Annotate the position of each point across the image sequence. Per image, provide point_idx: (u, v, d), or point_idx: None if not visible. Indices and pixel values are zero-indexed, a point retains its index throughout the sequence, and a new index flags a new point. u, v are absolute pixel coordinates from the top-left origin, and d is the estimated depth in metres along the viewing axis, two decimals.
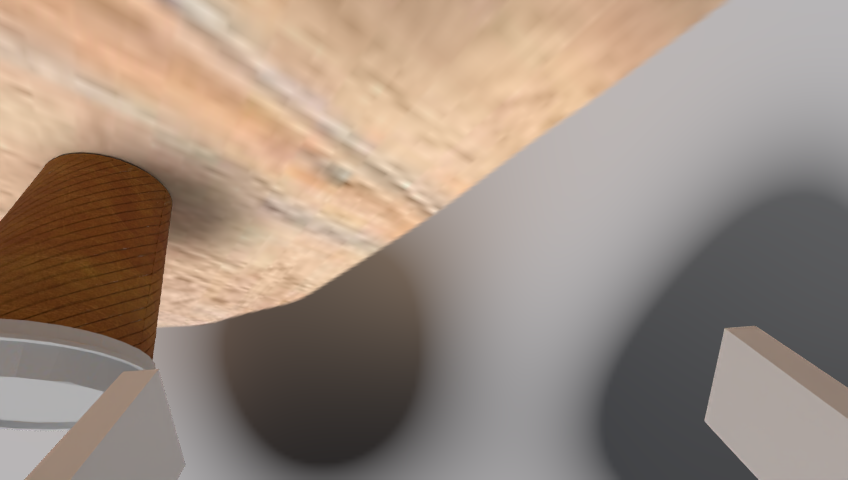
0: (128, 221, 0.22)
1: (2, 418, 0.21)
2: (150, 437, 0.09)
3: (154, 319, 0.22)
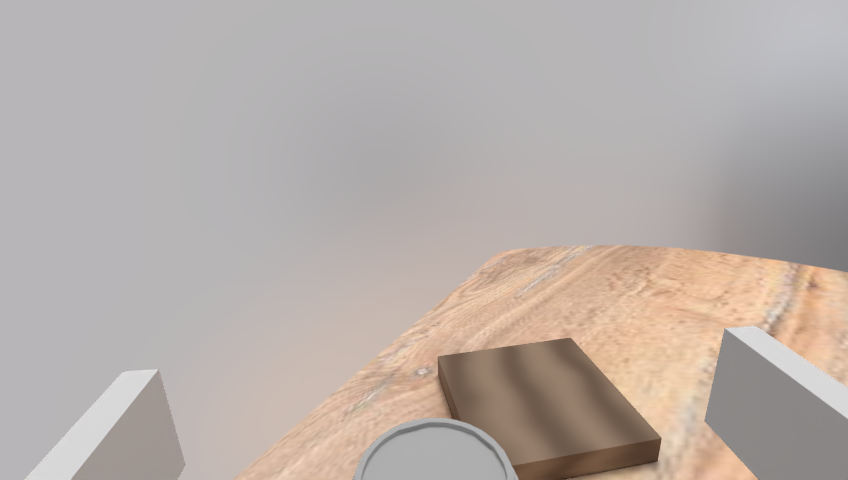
0: None
1: (383, 448, 0.26)
2: (150, 437, 0.09)
3: None
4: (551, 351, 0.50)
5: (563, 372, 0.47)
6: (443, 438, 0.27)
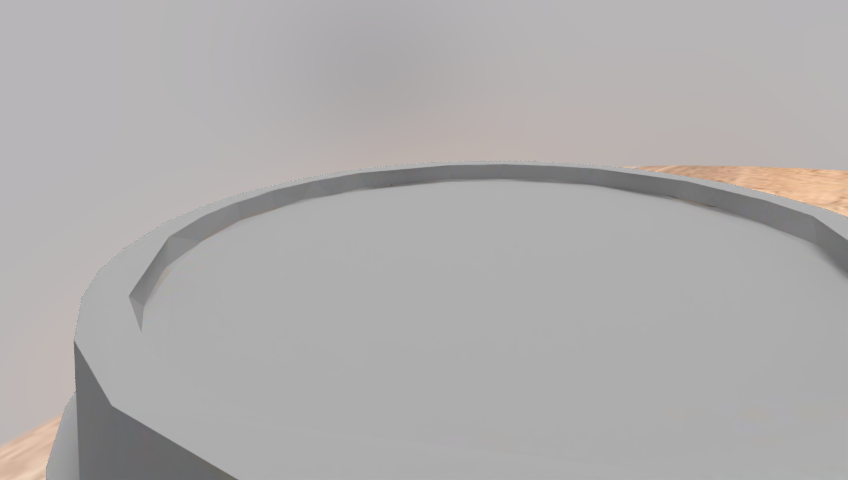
0: None
1: (306, 204, 0.08)
2: None
3: None
4: None
5: None
6: (499, 190, 0.09)
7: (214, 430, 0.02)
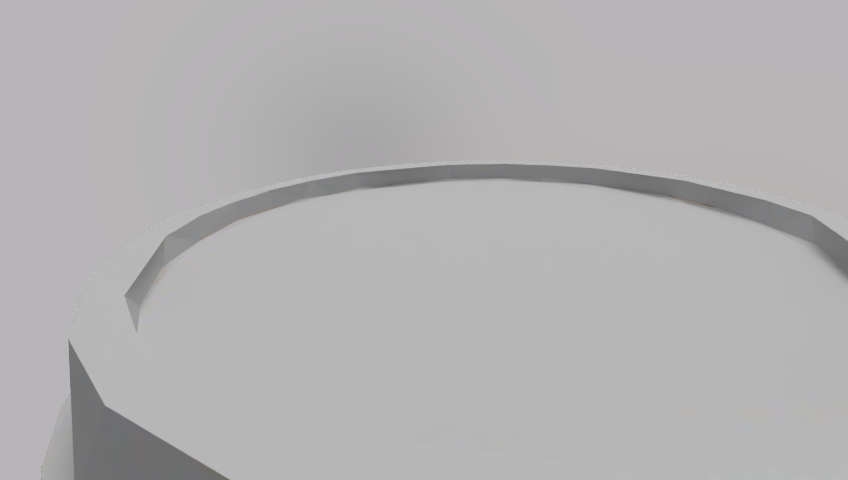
0: None
1: (304, 203, 0.08)
2: None
3: None
4: None
5: None
6: (498, 190, 0.09)
7: (208, 430, 0.02)
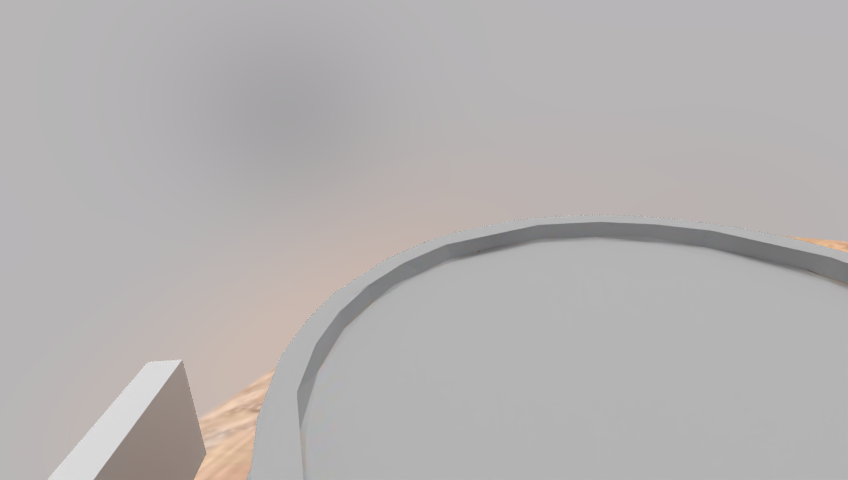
0: None
1: (400, 291, 0.07)
2: (175, 425, 0.10)
3: None
4: None
5: None
6: (603, 259, 0.08)
7: None
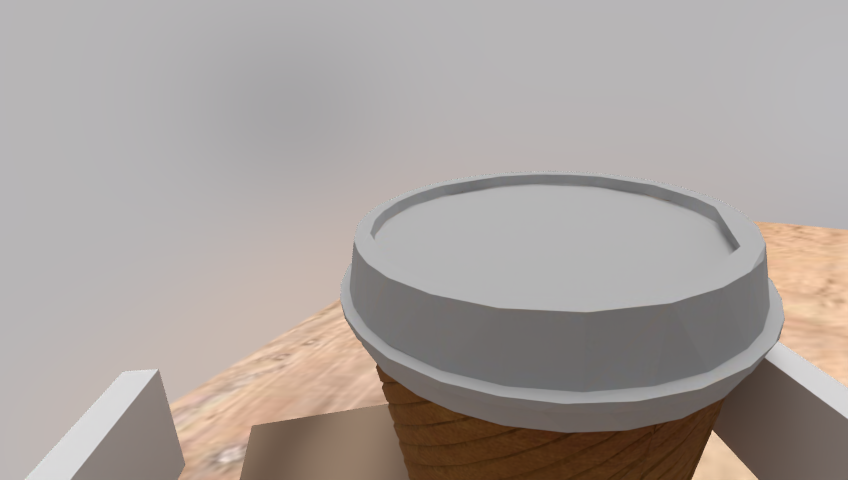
0: None
1: (415, 208, 0.13)
2: (150, 437, 0.09)
3: None
4: None
5: None
6: (535, 193, 0.13)
7: (474, 297, 0.07)
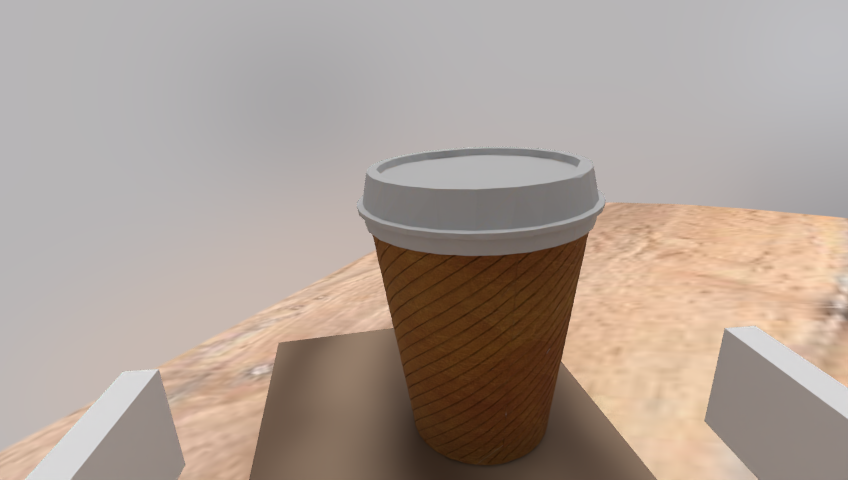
0: (544, 382, 0.18)
1: (406, 164, 0.20)
2: (150, 437, 0.09)
3: (481, 309, 0.15)
4: None
5: None
6: (486, 159, 0.20)
7: (425, 186, 0.14)
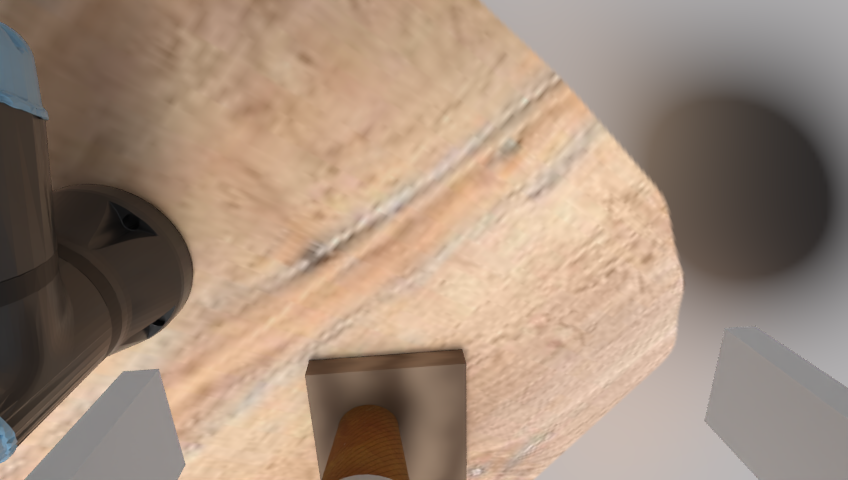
0: (346, 433, 0.42)
1: None
2: (150, 437, 0.09)
3: (374, 458, 0.38)
4: None
5: None
6: None
7: None
